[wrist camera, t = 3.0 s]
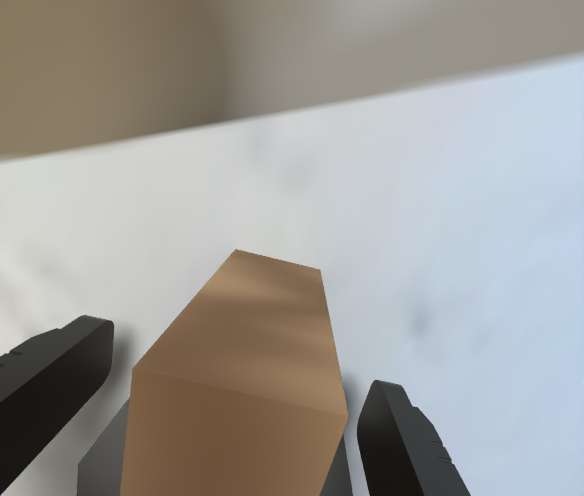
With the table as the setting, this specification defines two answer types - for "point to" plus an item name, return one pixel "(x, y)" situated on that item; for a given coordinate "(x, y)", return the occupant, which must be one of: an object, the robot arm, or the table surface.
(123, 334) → the table surface
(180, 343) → the scraper
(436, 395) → the table surface
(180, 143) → the table surface
